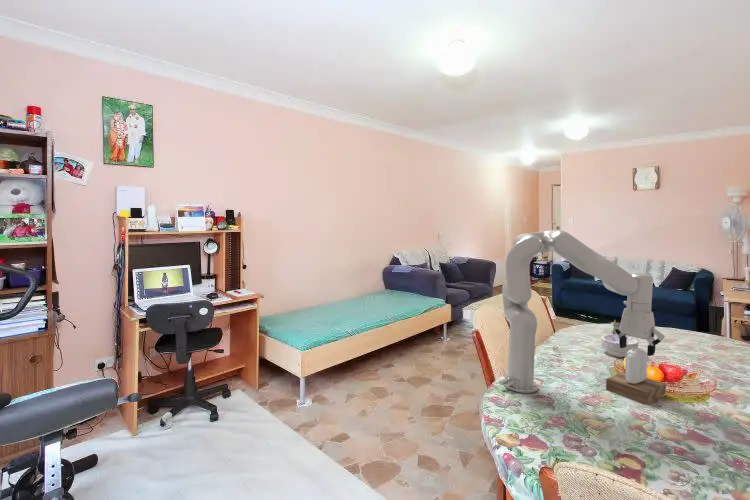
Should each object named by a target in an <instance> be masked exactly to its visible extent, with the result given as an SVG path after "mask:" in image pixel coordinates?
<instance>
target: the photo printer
mask: <svg viewBox="0 0 750 500" xmlns="http://www.w3.org/2000/svg"><path fill="white" fill-rule="evenodd" d="M647 367H648V355H647V351H646V349H645V348H642V347H638V348H633V349H631V350H629V351H628V352H627V354H626V358H625V369H624V370H625V371H624V372H625V380H626V381H627V382H629V383H633V384H635V383H639V382H642V381H644V380H646V378H648V376H647V374H648V373H647V372H648V370H647V369H648V368H647Z"/></svg>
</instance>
